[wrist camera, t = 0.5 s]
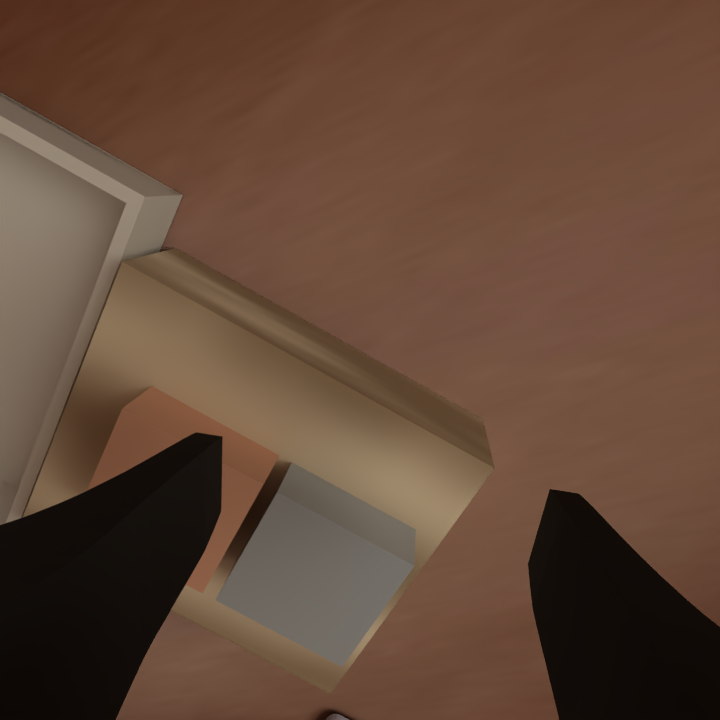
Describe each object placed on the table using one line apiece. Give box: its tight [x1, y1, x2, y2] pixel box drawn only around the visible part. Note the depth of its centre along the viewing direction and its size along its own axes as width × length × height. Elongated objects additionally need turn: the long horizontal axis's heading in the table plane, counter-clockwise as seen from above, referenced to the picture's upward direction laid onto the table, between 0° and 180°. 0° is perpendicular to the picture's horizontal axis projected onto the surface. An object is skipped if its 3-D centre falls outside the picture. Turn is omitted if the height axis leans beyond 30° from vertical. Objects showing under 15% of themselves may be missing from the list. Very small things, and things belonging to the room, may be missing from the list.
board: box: [23, 248, 494, 694], centre depth 22 cm, size 12×14×4 cm
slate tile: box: [216, 463, 416, 667], centre depth 20 cm, size 5×5×2 cm
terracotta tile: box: [87, 386, 279, 593], centre depth 19 cm, size 5×5×2 cm
